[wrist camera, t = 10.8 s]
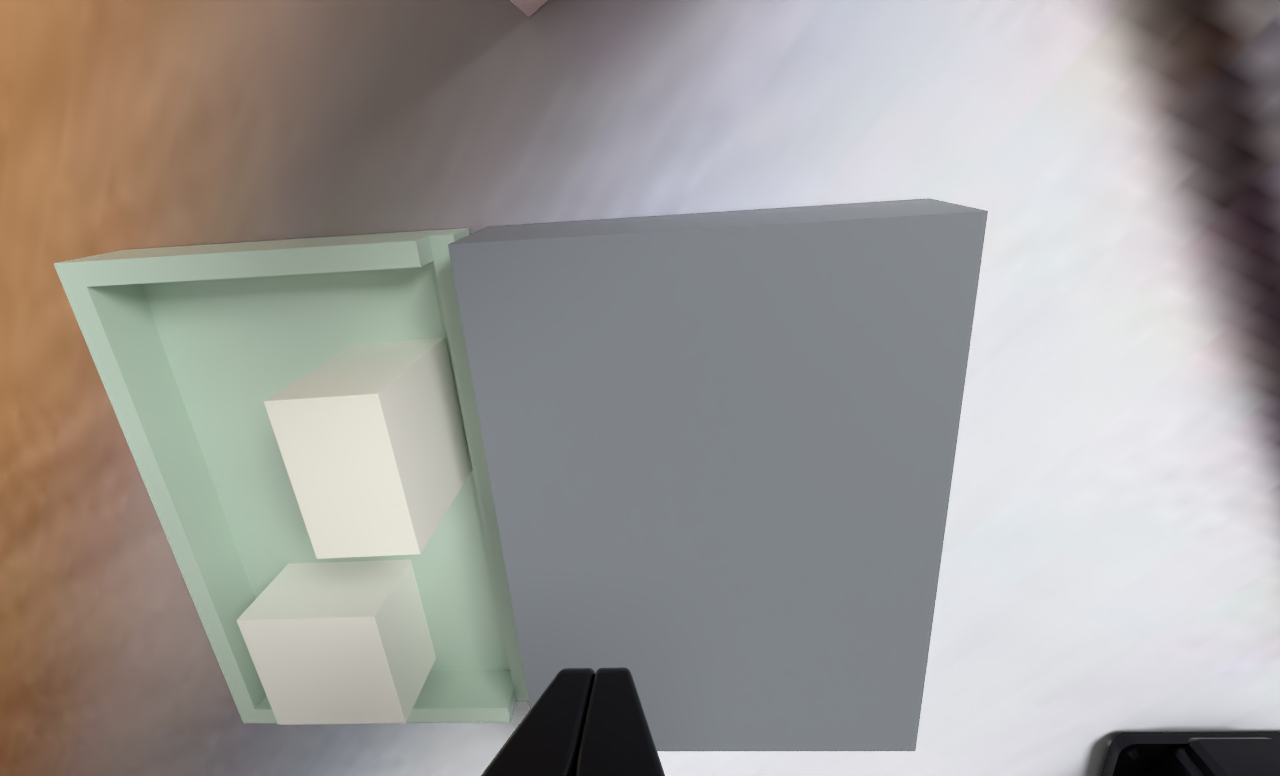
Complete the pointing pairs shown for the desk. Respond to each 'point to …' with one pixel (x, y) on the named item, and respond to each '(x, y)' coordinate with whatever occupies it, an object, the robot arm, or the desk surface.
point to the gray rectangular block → (728, 457)
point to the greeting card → (528, 5)
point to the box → (247, 447)
